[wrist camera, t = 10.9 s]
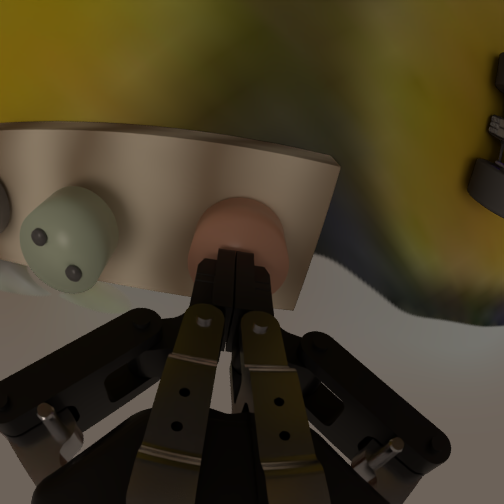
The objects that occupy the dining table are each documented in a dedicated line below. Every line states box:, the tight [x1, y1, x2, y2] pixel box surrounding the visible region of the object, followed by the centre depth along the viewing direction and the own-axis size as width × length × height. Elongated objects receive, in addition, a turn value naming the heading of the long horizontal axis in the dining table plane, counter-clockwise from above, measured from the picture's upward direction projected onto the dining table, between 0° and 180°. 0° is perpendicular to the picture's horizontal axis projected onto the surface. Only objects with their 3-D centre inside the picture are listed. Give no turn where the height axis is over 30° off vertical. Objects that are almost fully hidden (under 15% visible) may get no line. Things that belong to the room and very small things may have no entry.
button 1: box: [188, 198, 289, 294], centre depth 15 cm, size 4×4×3 cm
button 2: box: [20, 186, 119, 294], centre depth 13 cm, size 4×4×3 cm
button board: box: [0, 121, 341, 311], centre depth 16 cm, size 24×9×2 cm, turn 79°
